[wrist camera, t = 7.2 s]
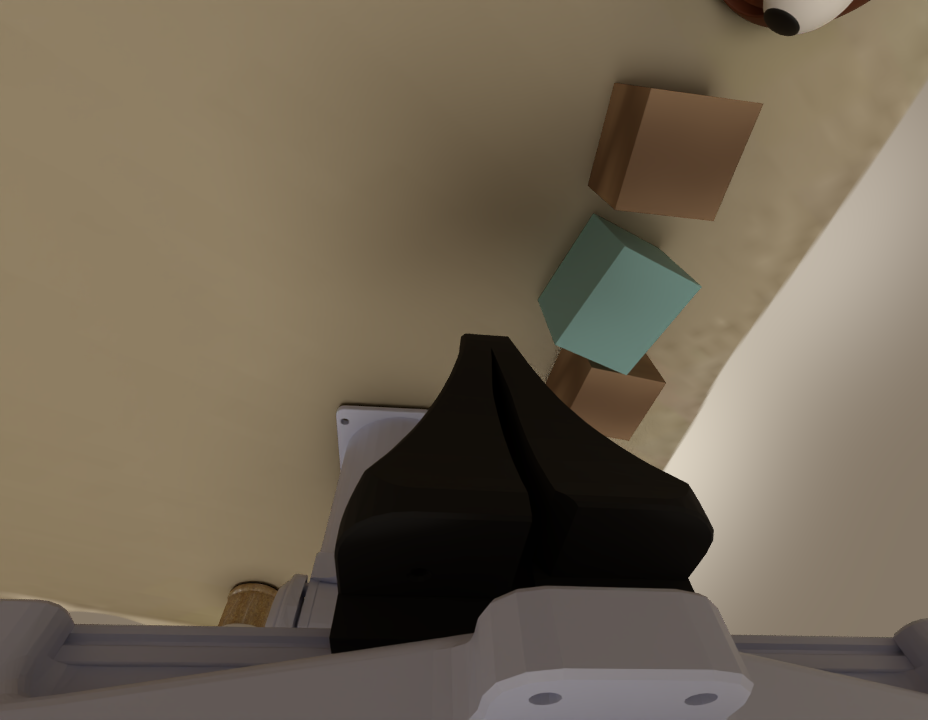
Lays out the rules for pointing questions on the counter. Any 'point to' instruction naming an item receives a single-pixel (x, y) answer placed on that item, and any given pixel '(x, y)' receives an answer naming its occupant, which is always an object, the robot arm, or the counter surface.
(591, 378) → the reddish brown cubic block
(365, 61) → the counter surface
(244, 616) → the sprinkles bottle
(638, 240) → the teal block
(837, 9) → the poop emoji
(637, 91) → the brown cube
